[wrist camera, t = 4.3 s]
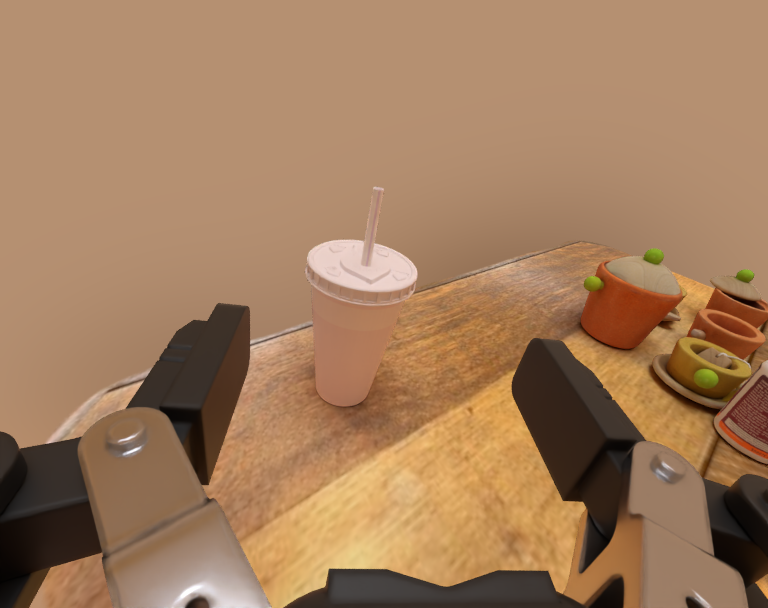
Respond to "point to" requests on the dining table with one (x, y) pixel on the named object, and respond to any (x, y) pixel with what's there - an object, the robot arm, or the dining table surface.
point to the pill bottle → (747, 417)
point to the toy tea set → (657, 303)
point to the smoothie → (355, 309)
